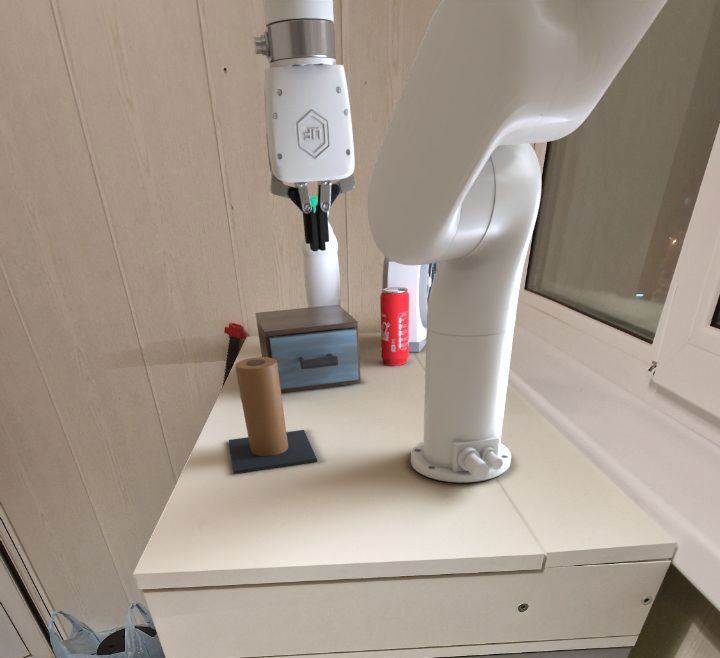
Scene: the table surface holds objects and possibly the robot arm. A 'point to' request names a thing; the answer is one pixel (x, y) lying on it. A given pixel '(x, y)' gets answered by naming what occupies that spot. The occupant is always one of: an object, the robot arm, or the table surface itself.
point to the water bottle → (322, 271)
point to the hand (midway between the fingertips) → (317, 249)
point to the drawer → (315, 357)
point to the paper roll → (262, 405)
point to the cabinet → (304, 329)
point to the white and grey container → (412, 295)
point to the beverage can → (394, 325)
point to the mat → (294, 455)
